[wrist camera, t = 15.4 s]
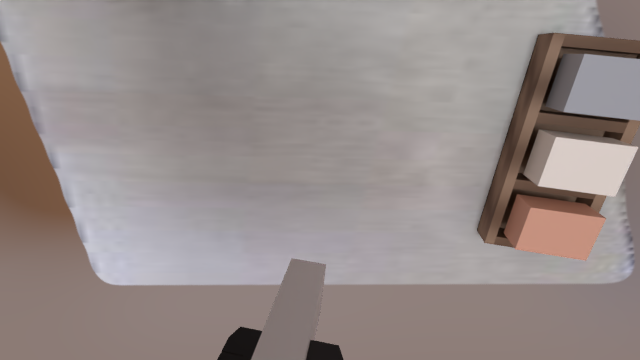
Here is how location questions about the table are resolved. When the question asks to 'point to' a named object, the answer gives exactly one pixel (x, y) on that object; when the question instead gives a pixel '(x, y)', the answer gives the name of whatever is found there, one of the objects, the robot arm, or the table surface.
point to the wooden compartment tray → (538, 116)
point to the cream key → (579, 162)
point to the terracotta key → (553, 227)
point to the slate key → (597, 86)
